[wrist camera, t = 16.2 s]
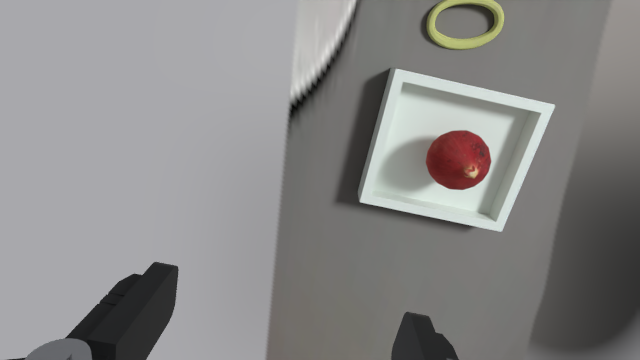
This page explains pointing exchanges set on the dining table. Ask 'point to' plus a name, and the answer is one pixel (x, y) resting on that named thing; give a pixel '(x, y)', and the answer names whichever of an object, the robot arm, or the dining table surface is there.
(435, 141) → the onion
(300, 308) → the dining table surface
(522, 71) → the dining table surface
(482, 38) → the key
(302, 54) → the dining table surface
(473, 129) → the tray
